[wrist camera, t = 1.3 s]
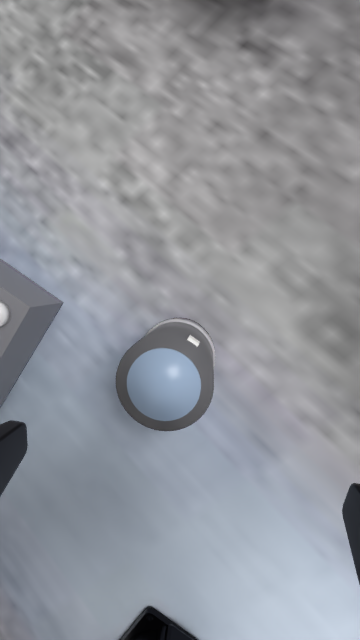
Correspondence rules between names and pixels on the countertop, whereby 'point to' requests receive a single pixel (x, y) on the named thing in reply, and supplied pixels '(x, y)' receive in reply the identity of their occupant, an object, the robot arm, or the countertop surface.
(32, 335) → the camera body
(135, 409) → the lens
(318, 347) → the countertop surface
